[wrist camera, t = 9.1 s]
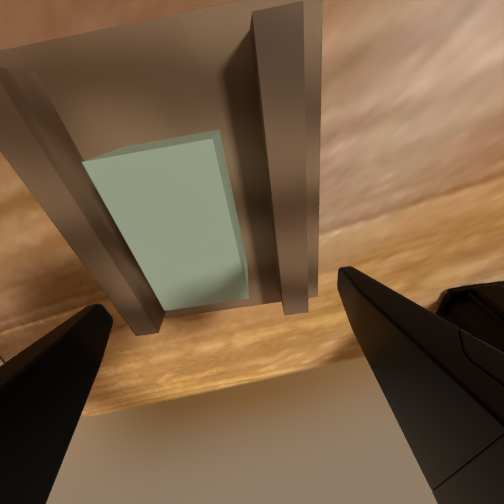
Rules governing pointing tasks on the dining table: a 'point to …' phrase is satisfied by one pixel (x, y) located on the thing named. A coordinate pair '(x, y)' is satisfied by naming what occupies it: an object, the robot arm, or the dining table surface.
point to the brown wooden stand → (177, 125)
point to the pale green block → (177, 217)
